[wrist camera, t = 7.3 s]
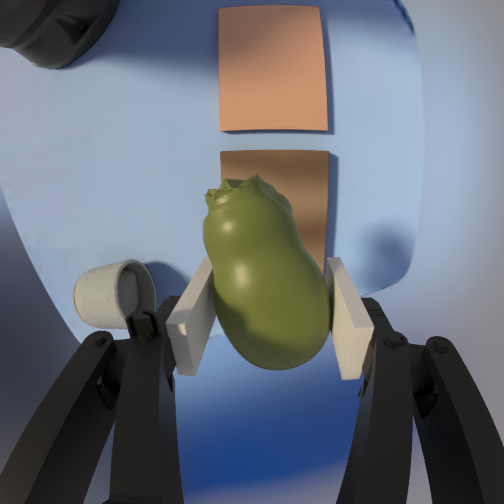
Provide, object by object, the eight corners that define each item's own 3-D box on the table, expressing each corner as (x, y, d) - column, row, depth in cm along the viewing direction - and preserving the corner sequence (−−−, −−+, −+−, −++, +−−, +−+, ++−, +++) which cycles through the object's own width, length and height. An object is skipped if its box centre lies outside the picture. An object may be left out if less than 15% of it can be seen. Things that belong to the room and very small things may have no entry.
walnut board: (222, 151, 25) (220, 151, 24) (326, 150, 25) (328, 151, 24) (229, 282, 31) (227, 287, 29) (320, 282, 30) (321, 288, 29)
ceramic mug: (92, 261, 31) (57, 290, 24) (141, 248, 30) (107, 279, 23) (125, 328, 35) (101, 364, 28) (174, 323, 34) (153, 364, 27)
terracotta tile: (220, 11, 20) (218, 8, 19) (317, 9, 19) (318, 6, 18) (221, 131, 25) (220, 131, 24) (326, 130, 24) (327, 130, 23)
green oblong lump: (236, 398, 12) (154, 200, 11) (251, 345, 17) (196, 197, 16) (349, 374, 11) (285, 150, 10) (335, 324, 16) (287, 165, 15)
